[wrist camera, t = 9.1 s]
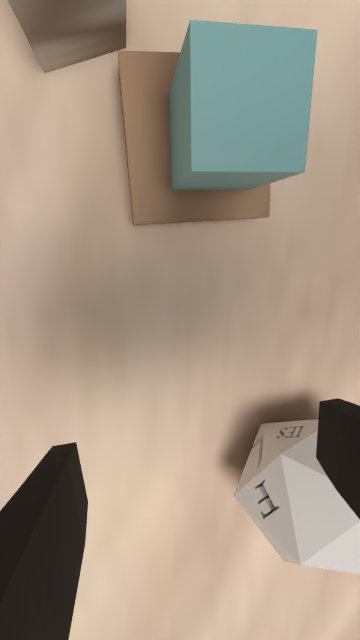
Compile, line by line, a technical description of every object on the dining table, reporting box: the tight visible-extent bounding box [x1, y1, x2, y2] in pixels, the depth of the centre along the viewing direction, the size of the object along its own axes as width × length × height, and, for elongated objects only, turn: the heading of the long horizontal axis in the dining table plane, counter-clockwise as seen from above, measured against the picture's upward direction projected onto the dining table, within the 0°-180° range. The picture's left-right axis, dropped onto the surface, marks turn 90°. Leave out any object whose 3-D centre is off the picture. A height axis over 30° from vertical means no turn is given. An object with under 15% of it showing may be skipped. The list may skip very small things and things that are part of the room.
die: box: [234, 419, 360, 574], centre depth 19 cm, size 8×9×10 cm
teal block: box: [169, 20, 317, 190], centre depth 12 cm, size 4×4×5 cm
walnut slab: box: [118, 51, 270, 225], centre depth 16 cm, size 7×7×2 cm
